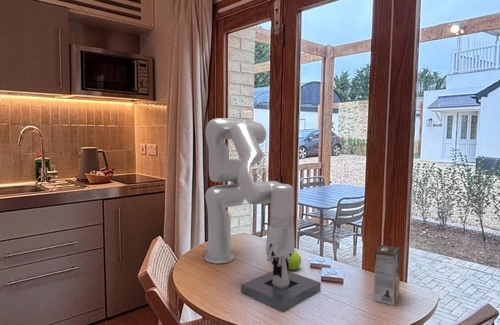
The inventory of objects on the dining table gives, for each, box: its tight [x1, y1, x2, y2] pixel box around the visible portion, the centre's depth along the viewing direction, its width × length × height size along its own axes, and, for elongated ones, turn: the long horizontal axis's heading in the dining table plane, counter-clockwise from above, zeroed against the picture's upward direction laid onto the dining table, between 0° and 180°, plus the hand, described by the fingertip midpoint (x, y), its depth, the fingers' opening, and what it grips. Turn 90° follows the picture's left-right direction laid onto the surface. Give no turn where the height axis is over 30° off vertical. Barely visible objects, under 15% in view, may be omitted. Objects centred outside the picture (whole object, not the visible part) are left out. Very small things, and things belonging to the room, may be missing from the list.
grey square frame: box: [240, 270, 322, 313], centre depth 115 cm, size 18×20×3 cm
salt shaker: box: [272, 254, 290, 291], centre depth 115 cm, size 6×6×13 cm
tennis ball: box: [289, 251, 302, 271], centre depth 136 cm, size 7×7×7 cm
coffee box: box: [373, 244, 402, 306], centre depth 111 cm, size 9×6×16 cm
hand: (280, 274), depth 115 cm, fingers closed on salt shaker, 3 cm apart
